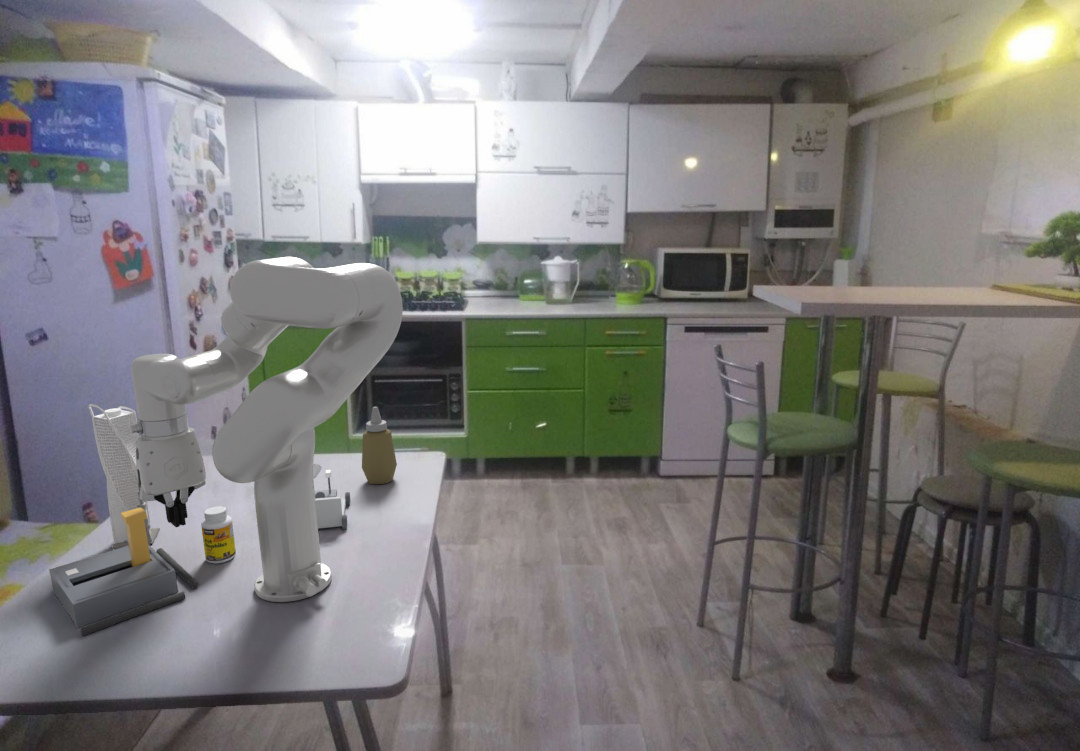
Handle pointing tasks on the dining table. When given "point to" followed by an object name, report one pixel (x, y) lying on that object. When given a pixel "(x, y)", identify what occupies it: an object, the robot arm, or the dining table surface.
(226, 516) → the supplement bottle
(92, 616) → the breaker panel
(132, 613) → the grey thin bar
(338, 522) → the toy rover
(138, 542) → the breaker lever
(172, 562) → the dark grey rod
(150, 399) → the robot arm
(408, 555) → the dining table surface
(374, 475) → the squeeze bottle
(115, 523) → the skyscraper
